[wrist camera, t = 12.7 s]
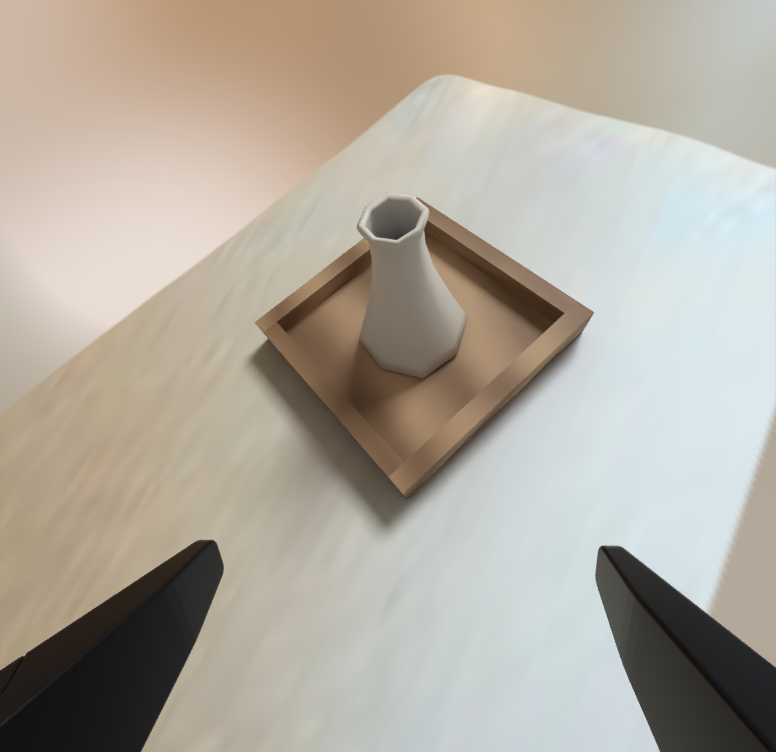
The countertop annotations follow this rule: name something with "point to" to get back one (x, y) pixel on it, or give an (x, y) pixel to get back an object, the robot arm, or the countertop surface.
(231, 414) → the countertop surface
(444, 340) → the flask
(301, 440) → the countertop surface
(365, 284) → the walnut tray
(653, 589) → the robot arm
